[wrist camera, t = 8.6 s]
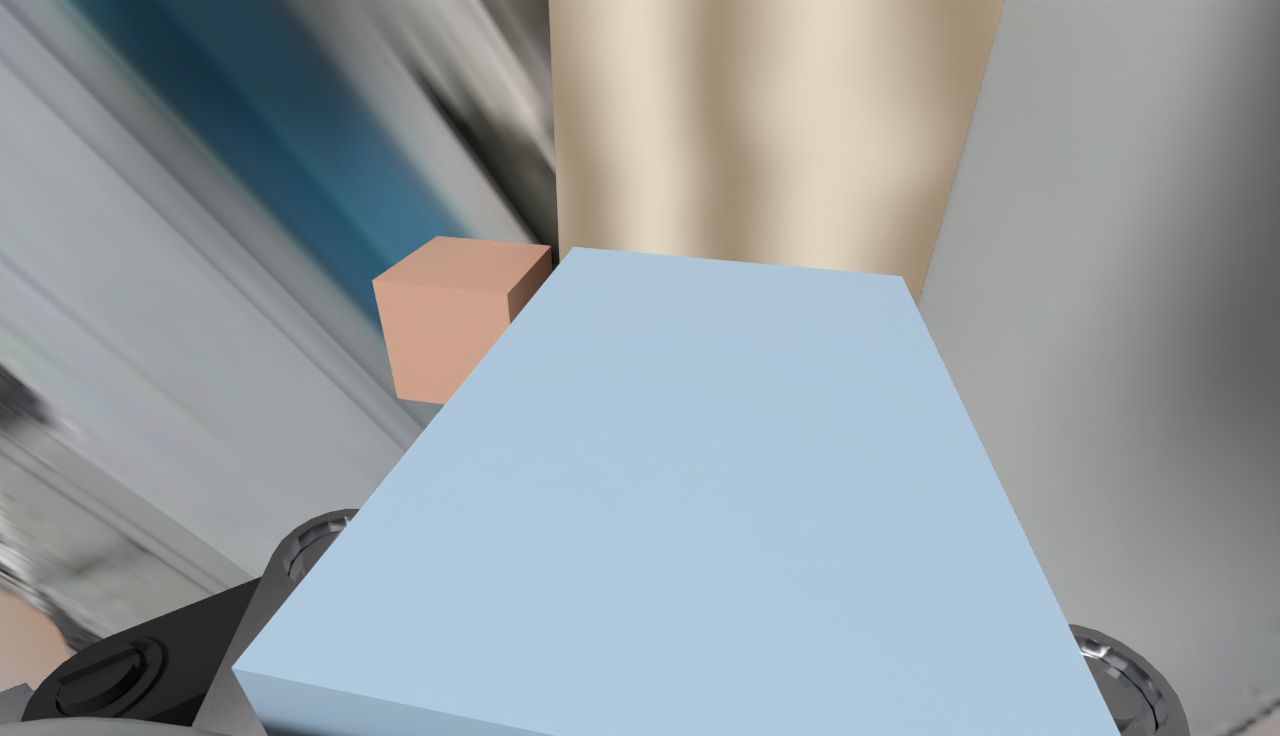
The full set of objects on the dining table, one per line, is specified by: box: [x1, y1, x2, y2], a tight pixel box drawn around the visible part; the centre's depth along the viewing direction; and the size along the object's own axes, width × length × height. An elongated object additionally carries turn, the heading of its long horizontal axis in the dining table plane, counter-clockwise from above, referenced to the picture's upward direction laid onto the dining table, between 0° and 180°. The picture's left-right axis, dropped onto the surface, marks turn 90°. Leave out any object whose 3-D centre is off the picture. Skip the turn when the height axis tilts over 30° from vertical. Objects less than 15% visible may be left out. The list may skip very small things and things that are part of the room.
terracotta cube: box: [372, 236, 552, 404], centre depth 29 cm, size 6×6×6 cm
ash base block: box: [549, 0, 1005, 307], centre depth 25 cm, size 14×18×5 cm
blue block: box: [232, 247, 1121, 736], centre depth 8 cm, size 6×6×8 cm
